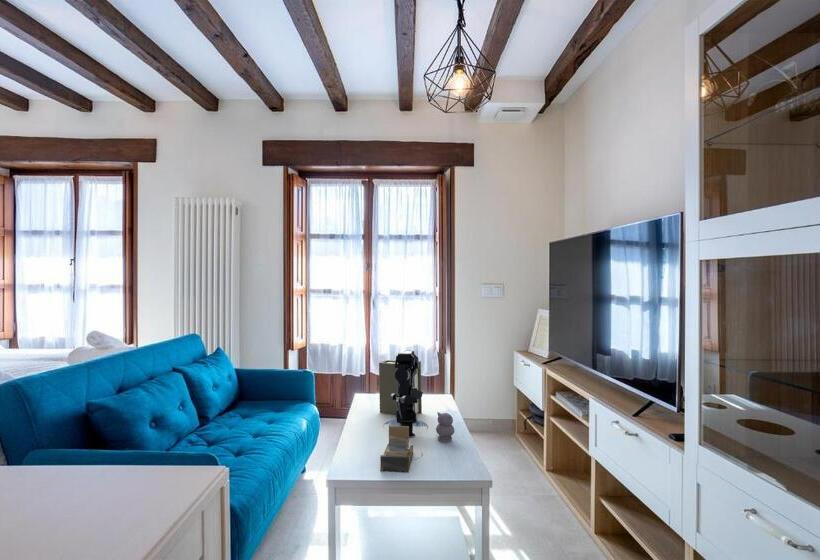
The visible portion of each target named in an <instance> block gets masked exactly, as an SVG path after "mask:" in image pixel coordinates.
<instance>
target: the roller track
mask: <svg viewBox="0 0 820 560" xmlns="http://www.w3.org/2000/svg"><path fill="white" fill-rule="evenodd" d="M388 447H389V443H387V445H386V448H385V449H384V452H383V454H382V455H380V466H379V467H380V472H387V471H388V472H391V473H407V474H408V473H409V472H410V468H411V464H412V460H413V455H414V445H412V444H411V445H409V452H408V456H407V457H404V456H387V450H388Z"/></svg>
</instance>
